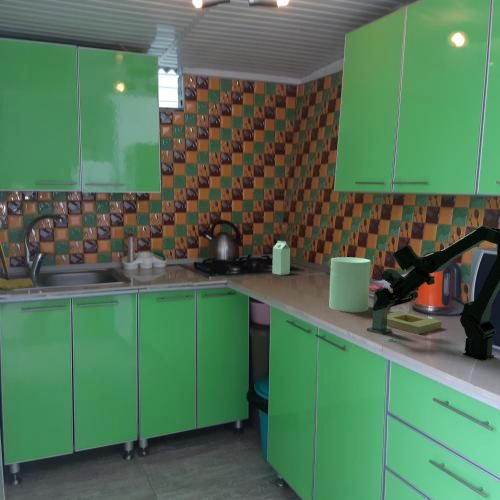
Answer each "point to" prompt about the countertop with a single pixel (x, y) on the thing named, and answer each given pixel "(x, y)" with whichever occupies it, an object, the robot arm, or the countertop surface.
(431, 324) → the olive square-hole block
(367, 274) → the canister
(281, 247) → the milk carton
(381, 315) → the bracket
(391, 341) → the mounting bracket
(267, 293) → the countertop surface
